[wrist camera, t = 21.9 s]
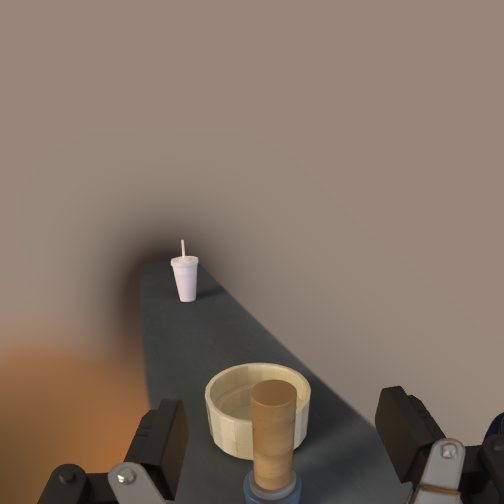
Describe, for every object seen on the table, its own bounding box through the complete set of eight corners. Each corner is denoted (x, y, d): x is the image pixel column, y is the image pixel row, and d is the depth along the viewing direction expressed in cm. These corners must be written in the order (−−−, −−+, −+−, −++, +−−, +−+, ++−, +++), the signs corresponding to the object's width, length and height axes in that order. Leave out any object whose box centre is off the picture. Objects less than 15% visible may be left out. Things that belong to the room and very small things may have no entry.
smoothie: (198, 293, 77) (194, 237, 75) (204, 301, 72) (199, 241, 69) (173, 296, 75) (167, 239, 72) (176, 305, 69) (170, 244, 66)
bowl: (311, 406, 35) (314, 366, 33) (299, 470, 25) (303, 430, 23) (228, 396, 37) (225, 358, 36) (197, 452, 27) (188, 412, 26)
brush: (302, 490, 22) (315, 373, 19) (294, 528, 18) (308, 419, 15) (252, 484, 23) (246, 368, 20) (239, 521, 19) (224, 410, 16)
